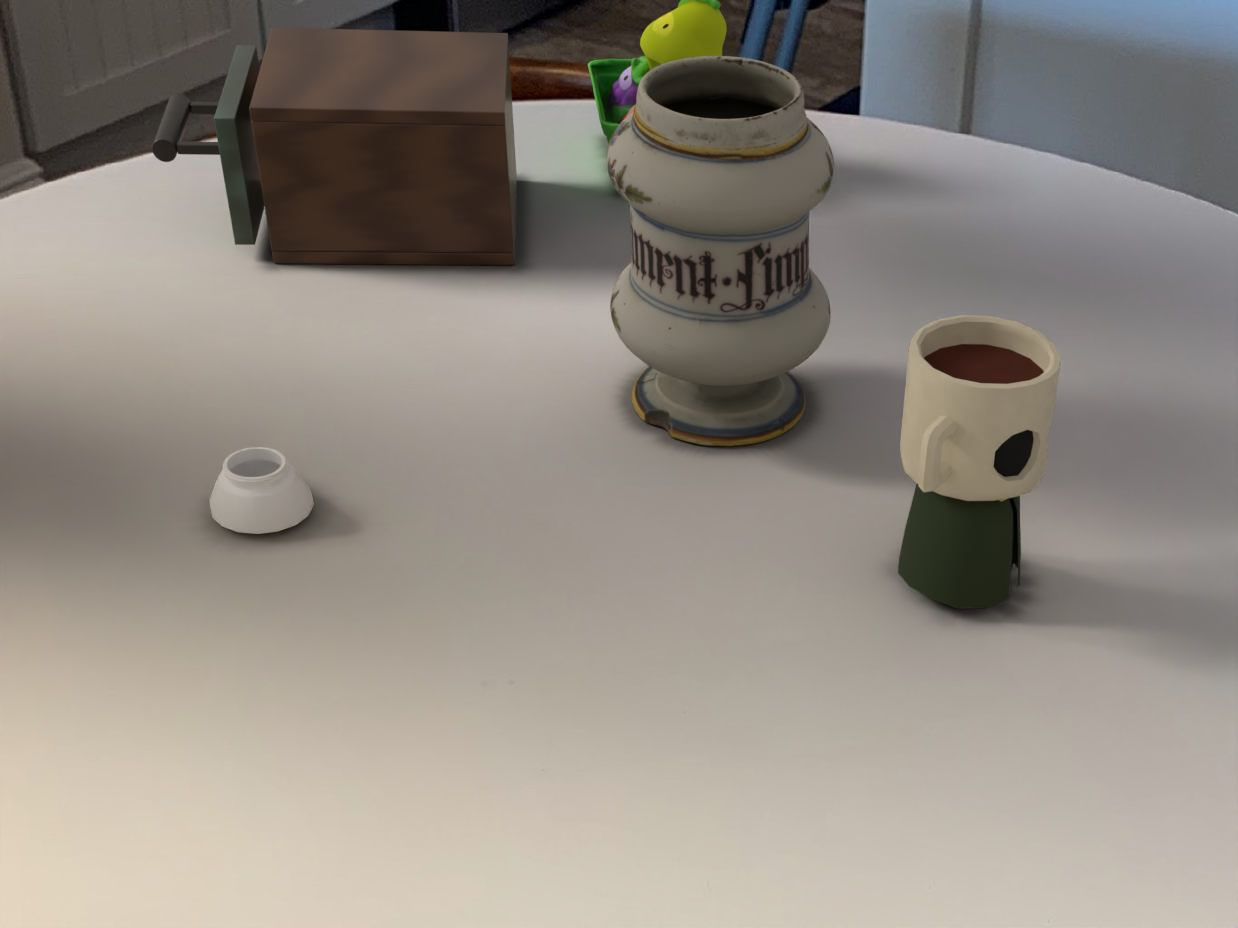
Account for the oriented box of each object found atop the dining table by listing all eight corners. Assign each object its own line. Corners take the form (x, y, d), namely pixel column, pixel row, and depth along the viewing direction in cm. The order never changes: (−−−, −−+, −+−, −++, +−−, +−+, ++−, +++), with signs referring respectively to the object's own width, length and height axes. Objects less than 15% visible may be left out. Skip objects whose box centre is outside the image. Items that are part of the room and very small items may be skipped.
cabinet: (273, 263, 117) (248, 107, 110) (292, 176, 126) (271, 27, 119) (514, 265, 119) (504, 112, 112) (516, 179, 128) (507, 32, 121)
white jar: (194, 506, 97) (243, 551, 95) (184, 456, 95) (233, 501, 92) (282, 476, 100) (332, 519, 97) (274, 426, 98) (324, 468, 95)
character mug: (972, 660, 92) (1004, 422, 83) (844, 611, 94) (862, 375, 85) (1064, 554, 99) (1102, 326, 90) (943, 512, 101) (969, 284, 93)
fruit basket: (588, 131, 134) (582, -37, 126) (712, 129, 136) (715, -37, 128) (603, 201, 126) (598, 26, 118) (735, 199, 128) (739, 26, 120)
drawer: (162, 244, 116) (136, 116, 110) (187, 165, 124) (165, 42, 118) (459, 247, 118) (449, 122, 113) (465, 169, 126) (455, 49, 121)
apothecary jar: (567, 405, 107) (553, 82, 94) (704, 329, 114) (707, 21, 102) (735, 482, 102) (743, 154, 90) (866, 399, 110) (890, 84, 97)
